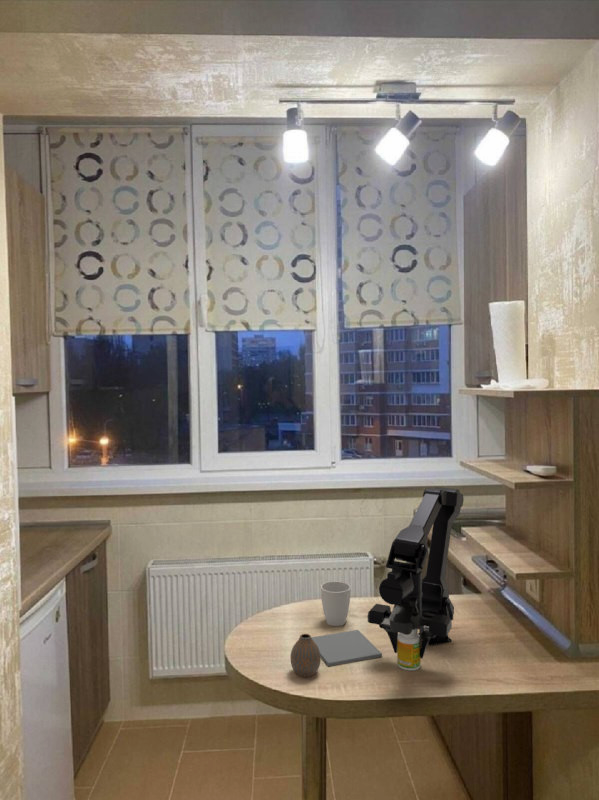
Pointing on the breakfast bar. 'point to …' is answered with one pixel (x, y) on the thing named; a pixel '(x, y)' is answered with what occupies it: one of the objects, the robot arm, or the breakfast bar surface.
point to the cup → (335, 602)
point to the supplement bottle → (409, 650)
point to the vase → (305, 656)
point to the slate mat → (345, 647)
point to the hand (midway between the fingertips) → (408, 655)
